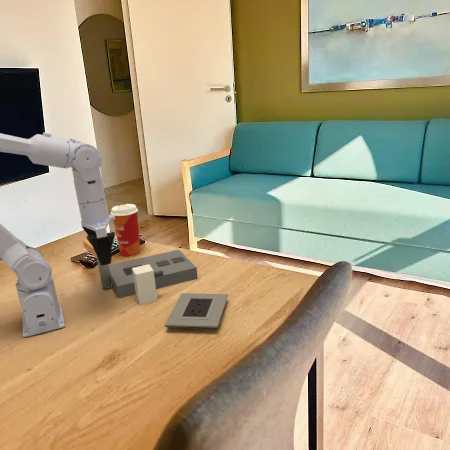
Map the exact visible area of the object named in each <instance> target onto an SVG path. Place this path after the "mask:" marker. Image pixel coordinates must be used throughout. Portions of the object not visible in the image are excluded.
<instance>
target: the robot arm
mask: <svg viewBox="0 0 450 450" xmlns="http://www.w3.org/2000/svg"><path fill="white" fill-rule="evenodd" d="M0 152H1V153H9V154H15V155H22V156H26V157H28V159H29V160H30V161H31V162H32V164H35V165H42V166H48V167H55V168H61V169H68V168H71V171H72V172H71V173H72V176H73V184H74V190H75V194H76V199H77V205H78V209H79V214H80V219H81V222H80V224H81V228H82V229H83V230H84V232H85V234H86V236H85V237H86V239H87V240H88V241H89V243H90V244H91V245H92V246H93V248H94V251H95V253H96V254H97V257H98V260H99V262H100V264H101V266H103V265H107V264H109V265H110V264H112V255H113V254H112V252H113V243H114V240H115V237H116V232H115V231H110V232H107V227H108V225H109V224H110V222H111V221H113V220H115V216H114V215H111V214H109V211H108V204H107V199H106V193H105V188H104V183H103V177H102V173H101V168H100V167H102V164H103V163H102V162H103V156H102V155H101V153H100V151H99V150H98V149H97V148H96V147H95V146H94V145H91V144H88V143H87V142H86V143H85V142H82V141H79V140H77V139H76V138H69V139H65V138H59V137H54V136H52V133H49V132H46V131H45V132H43V133H42V134H39V133H37V134H35V135H33V136H31V137H30V138H23V137H19V136H14V135H9V134H4V133H0ZM0 259H1V260H2V261H3V262H4V264H5V265H6V266H7V267H8V268H9V269H10V270H11V271H12V272H13V273H14V274H15V275H16V277H17V280H16V282H15V289H16V291H17V295H18V296H17V297H18V300H19V305H20V309H21V312H22V337H23V338H27V337H31V336H34V335H35V336H36V335H38V334H39V335H40V334H42V333H43V334H44V333H46V332H50V331H54V330H57V329H61V328H62V329H63V328H65V326H66V325H65V320H64V314H63V313H64V312H63V309H62V306H61V305H60V304H59V301H58V295H57V290H56V286H55V281H54V277H53V275H52V273H53V272H52V271H53V270H52V267H51V265H50V264H49V262H47V260H46V259H45V257H44V254H43V252H42V251H41V250H39V249H38V248H36V247H33V246H30V245H28V244H26V243H24V242H23V241H22V240H21V239H19V238H18V237H16V236H15V235H14V234H13V233H11V231H9V230H8V229H7V228H6V227H5V226H4V225H3V224H1V223H0Z"/></svg>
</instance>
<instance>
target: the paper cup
mask: <svg viewBox="0 0 450 450" xmlns="http://www.w3.org/2000/svg"><path fill="white" fill-rule="evenodd" d="M138 211H139V209H138V208H137V205H136V204H134V203H126V204H120V205H115V206H113V207H112V208H111V211H110V215H114V216H115V220H112V223H113V225H114V230H115V231H114V232H115V236H116V239H117V244H118V248H119V252H120V255H121V256H122V257H125V258H126V257H128V258H129V257H135V256H137V255H139V254H140V252H141V249H140V248H141V247H140V246H141V245H140V233H139V231H140V230H139V220H138V219H139V218H138Z"/></svg>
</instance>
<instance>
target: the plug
mask: <svg viewBox="0 0 450 450" xmlns="http://www.w3.org/2000/svg"><path fill="white" fill-rule="evenodd" d="M132 273H133V279H134V286H135V293H136V294H135V297H136V301H137V302H138V304H139V306H143V305H146V304H150V303H154V302H158V294H157V289H156V285H155V277H160V276H163V271H158V272H154V270H153V269H152V268H151V266H150V265H149V264H148V265H144V266H139V267H135V268H132Z"/></svg>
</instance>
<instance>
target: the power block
mask: <svg viewBox="0 0 450 450" xmlns="http://www.w3.org/2000/svg"><path fill="white" fill-rule="evenodd" d="M148 264H149V265H150V266H151V268H152V269H153V270H154V272H158V271H163V276H160V277H155V285H156V290H157V289H161V288H165V287H169V286H173V285H177V284H181V283H182V284H183V283H185V282H188V281H189V282H190V281H193V280H197V279H199V278H198V270H197V269H198V268H197V266H196V265H195V264H194V263H192V261H191V260H190V259H189V258H188V257H187V256H186V255H185V254H184V253H183V252H182V251H181V250H180V249H175V250H171V251H165V252H162V253H158V254H157V253H156V254H152V255H148V256H144V257H139V258H134V259H130V260H125V261H120V262H116V263H111V264H109V270H110V276H111V282H112V287H113V288H114V290H115V293H116V295H117V297H118V298H119V299H120V298H124V297H128V296H132V295H136V293H135V286H134V279H133V273H132V268H135V267H139V266H144V265H148Z"/></svg>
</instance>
